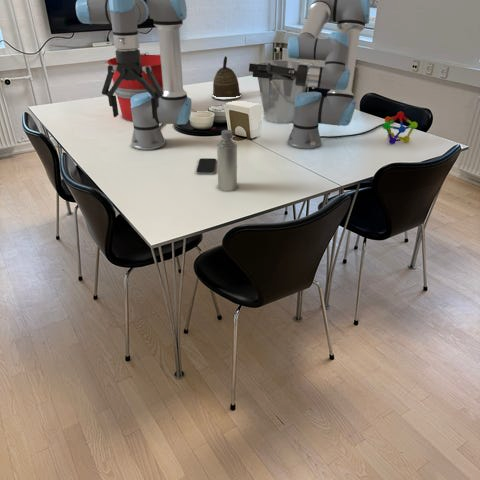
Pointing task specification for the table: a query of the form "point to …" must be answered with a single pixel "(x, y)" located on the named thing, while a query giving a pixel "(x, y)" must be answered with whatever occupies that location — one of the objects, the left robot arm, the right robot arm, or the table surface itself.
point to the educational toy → (398, 128)
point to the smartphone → (206, 166)
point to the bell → (225, 82)
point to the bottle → (227, 165)
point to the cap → (226, 134)
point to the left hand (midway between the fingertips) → (135, 116)
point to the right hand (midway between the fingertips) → (251, 70)
